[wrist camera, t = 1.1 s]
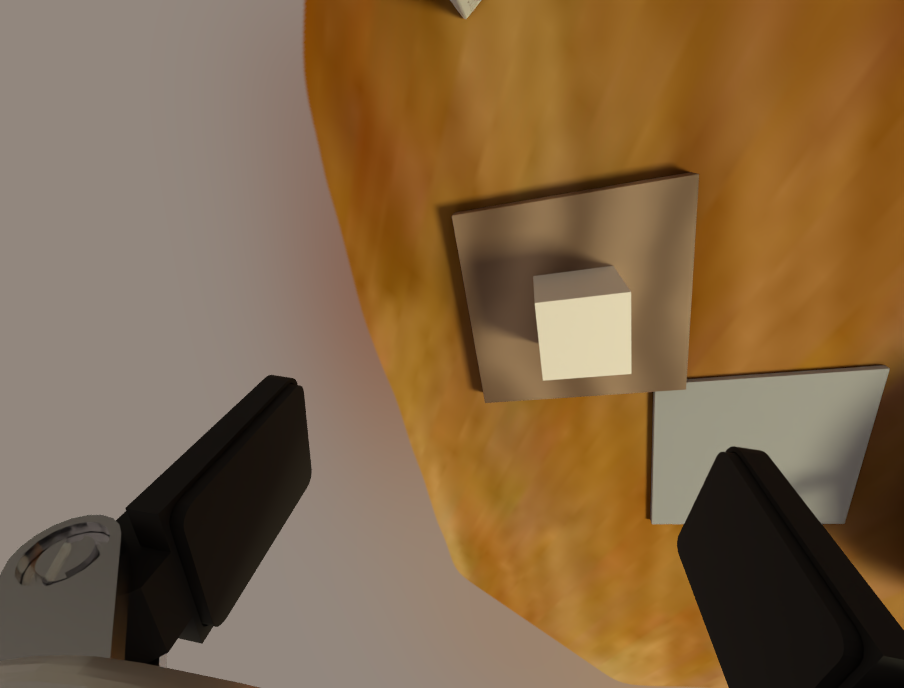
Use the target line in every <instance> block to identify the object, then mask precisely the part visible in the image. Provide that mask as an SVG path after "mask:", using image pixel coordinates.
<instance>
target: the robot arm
mask: <svg viewBox="0 0 904 688" xmlns="http://www.w3.org/2000/svg"><path fill="white" fill-rule="evenodd" d="M310 479H311V460H310V450H309V441H308V430H307V420H306V409H305V399H304V391H303V388H302V386H298V385H297V382H296V380H295V379H293V378H287V377H281V376H274V375H269V376H267V377H266V378H265V379H264V380H262V381H261V382H260V383H259V384H258V385H257V386H256V387H255V388H254V389H253V390H252V391H251V392H250V393H248V394H247V395H246V396H245V397H244V398H243V399H242V400H241V401H240V402H239V403H238V404H237V405H236V406H234V407H233V408H232V409H231V410H230V411H229V412H228V413H227V414H226V415H225V416H224V417H223V418H222V419H221V420H219V421H218V422H217V423H216V424H215V425H214V426H213V427H212V428H211V429H210V430H209V431H208V432H207V433H206V434H204V435H203V436H202V437H201V438H200V439H199V440H198V441H197V442H196V443H195V444H194V445H193V446H192V447H190V448H189V449H188V450H187V451H186V452H185V453H184V454H183V455H182V456H181V457H180V458H179V459H178V460H177V461H175V462H174V463H173V464H172V465H171V466H170V467H169V468H168V469H167V470H166V471H165V472H164V473H163V474H162V475H160V477H158V478H157V479H156V480H155V481H154V482H153V483H152V484H151V485H150V486H149V487H148V488H146V490H144V491H143V492H142V493H141V494H140V495H139V496H138V497H137V498H136V499H135V500H134V501H133V502H131V503H130V504H129V505H128V506H127V507H126V512H125V513H124V514H123V515H121V516H120V517H119V518H118V519H117V520H116V521H115V520H114V519H113V518H111V517H107V516H104V515H87V516H82V517H77V518H72V519H69V520H67V521H64V522H61V523H59V524H56V525H54V526H52V527H50V528H48V529H46V530H44V531H43V532H41V533H39V534H38V535H36V536H34V537H33V538H32V539H30V540H29V541H28V542H26V543H25V544H24V545H22V546H21V547H20V548H19V549H18V550H17V551H16V552H15V553H14V554H13V555H12V556H11V557H10V559H9V560H8V561H7V563H6V565H5V567H4V569H3V570H2V572H1V575H0V688H259V687H254V686H250V685H246V684H242V683H237V682H233V681H227V680H223V679H218V678H213V677H208V676H203V675H199V674H194V673H188V672H184V671H179V670H174V669H169V668H167V653H168V652H169V650H170V649H171V648H172V646H173V645H174V643H175V642H176V640H177V639H178V638H180V639H184V640H189V641H194V642H198V643H203V642H204V640H205V639H206V637H207V635H208V634H209V632H210V631H211V629H212V627H213V626H215V627H218V626H219V625H221V624H222V623H223V622H224V620H225V619H226V618H227V616H228V615H229V613H230V611H231V610H232V608H233V607H234V605H235V603H236V602H237V600H238V598H239V597H240V595H241V593H242V592H243V590H244V589H245V587H246V585H247V584H248V582H249V581H250V579H251V577H252V576H253V574H254V573H255V571H256V569H257V567H258V566H259V564H260V562H261V561H262V560H263V558H264V556H265V555H266V553H267V551H268V550H269V548H270V547H271V545H272V543H273V542H274V540H275V538H276V537H277V535H278V534H279V532H280V530H281V529H282V527H283V525H284V524H285V522H286V521H287V519H288V517H289V516H290V514H291V513H292V511H293V509H294V508H295V506H296V504H297V503H298V501H299V500H300V498H301V496H302V495H303V493H304V492H305V490H306V488H307V486H308V485H309V482H310ZM677 547H678V553H679V556H680V559H681V561H682V564H683V567H684V569H685V572H686V575H687V577H688V580H689V583H690V585H691V588H692V591H693V593H694V596H695V599H696V601H697V604H698V607H699V609H700V612H701V615H702V617H703V620H704V623H705V625H706V628H707V631H708V633H709V636H710V639H711V641H712V644H713V647H714V649H715V652H716V655H717V657H718V660H719V663H720V665H721V668H722V671H723V673H724V676H725V679H726V681H727V684H728V687H729V688H904V630H903V629H902V627H901V626H900V625H899V624H898V622H897V621H896V620H895V618H894V617H893V616H892V615H891V613H890V612H889V611H888V609H887V608H886V607H885V605H884V604H883V603H882V602H881V600H880V599H879V598H878V596H877V595H876V594H875V593H874V591H873V590H872V589H871V587H870V586H869V585H868V584H867V582H866V581H865V580H864V578H863V577H862V576H861V574H860V573H859V572H858V571H857V569H856V568H855V567H854V565H853V564H852V563H851V562H850V560H849V559H848V558H847V556H846V555H845V554H844V552H843V551H842V550H841V549H840V547H839V546H838V545H837V543H836V542H835V541H834V540H833V538H832V537H831V536H830V534H829V533H828V532H827V531H826V529H825V528H824V527H823V525H822V524H821V523H820V521H819V520H818V519H817V518H816V516H815V515H814V514H813V512H812V511H811V510H810V509H809V507H808V506H807V505H806V503H805V502H804V501H803V499H802V498H801V497H800V496H799V494H798V493H797V492H796V490H795V489H794V488H793V487H792V485H791V484H790V483H789V481H788V480H787V479H786V478H785V476H784V475H783V474H782V472H781V471H780V470H779V468H778V467H777V466H776V465H775V463H774V462H773V461H772V459H771V458H770V457H769V456H768V455H767V454H766V453H765V452H764V451H761V450H755V449H748V448H742V447H735V446H733V447H730V448H728V449H727V450H726V452H720V453H719V454H718V455H717V456H716V458H715V461H714V463H713V465H712V467H711V469H710V471H709V473H708V475H707V477H706V479H705V481H704V484H703V486H702V488H701V490H700V492H699V494H698V496H697V498H696V500H695V502H694V504H693V507H692V509H691V511H690V513H689V515H688V517H687V519H686V521H685V523H684V525H683V527H682V530H681V532H680V534H679V536H678V541H677Z"/></svg>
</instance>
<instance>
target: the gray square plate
mask: <svg viewBox="0 0 904 688" xmlns="http://www.w3.org/2000/svg"><path fill="white" fill-rule="evenodd" d="M889 370H890V368H888V367H887V366H885V365H881V366H867V367H853V368H838V369H824V370H810V371H796V372H782V373H768V374H754V375H740V376H726V377H712V378H698V379H687V382H686V390H673V391H658V392H653V428H652V474H651V523H652V524H684V523H685V521H686V519H687V517H688V515H689V513H690V511H691V509H692V507H693V504H694V502H695V500H696V498H697V496H698V494H699V492H700V490H701V488H702V486H703V484H704V481H705V479H706V477H707V475H708V473H709V471H710V469H711V467H712V465H713V463H714V461H715V458H716V456H717V455H718V454H719V453H720V452H726V450H727V449H728V448H730V447H733V446H735V447H742V448H748V449H755V450H761V451H764V452H765V453H766V454H767V455H768V456H769V457H770V458H771V459H772V461H773V462H774V463H775V465H776V466H777V467H778V468H779V470H780V471H781V472H782V474H783V475H784V476H785V478H786V479H787V480H788V481H789V483H790V484H791V485H792V487H793V488H794V489H795V490H796V492H797V493H798V494H799V496H800V497H801V498H802V499H803V501H804V502H805V503H806V505H807V506H808V507H809V509H810V510H811V511H812V512H813V514H814V515H815V516H816V518H817V519H818V520H819V521H820V523H821V524H845V520H846V517H847V513H848V510H849V507H850V503H851V500H852V496H853V493H854V489H855V486H856V483H857V479H858V476H859V472H860V469H861V465H862V462H863V459H864V455H865V452H866V448H867V445H868V441H869V438H870V435H871V431H872V428H873V424H874V421H875V418H876V414H877V411H878V407H879V404H880V400H881V397H882V394H883V390H884V387H885V383H886V380H887V376H888V373H889Z"/></svg>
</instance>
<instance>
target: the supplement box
mask: <svg viewBox="0 0 904 688" xmlns="http://www.w3.org/2000/svg"><path fill="white" fill-rule="evenodd" d="M450 1H451V2H452V4H453V5H454V6H455V8H456V9H457V10H458V12H459V13H460V14H461V16H462V17H463V18H464V19H467V18H468V16H469V15H470V14H471V13H472V11H473V10H474V9H475V8H476V6H477V5H478V4H479V3H480V2H481V0H450Z"/></svg>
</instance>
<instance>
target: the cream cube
mask: <svg viewBox="0 0 904 688" xmlns="http://www.w3.org/2000/svg"><path fill="white" fill-rule="evenodd" d="M533 283H534V301H535V311H536V321H537V330H538V339H539V349H540V358H541V368H542V377H543V381H545V380H558V379H571V378H584V377H598V376H611V375H624V374H631V291H630V289H629V288H628V287H627V285H626V284H625V282H624V281H623V279H622V278H621V276H620V275H619V273H618V272H617V270H616V269H615V267H614V266H607V267H599V268H592V269H584V270H576V271H569V272H561V273H553V274H546V275H538V276H533Z"/></svg>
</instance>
